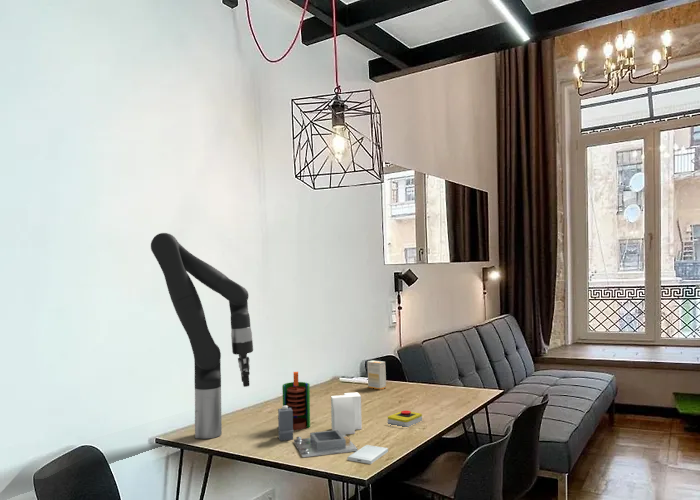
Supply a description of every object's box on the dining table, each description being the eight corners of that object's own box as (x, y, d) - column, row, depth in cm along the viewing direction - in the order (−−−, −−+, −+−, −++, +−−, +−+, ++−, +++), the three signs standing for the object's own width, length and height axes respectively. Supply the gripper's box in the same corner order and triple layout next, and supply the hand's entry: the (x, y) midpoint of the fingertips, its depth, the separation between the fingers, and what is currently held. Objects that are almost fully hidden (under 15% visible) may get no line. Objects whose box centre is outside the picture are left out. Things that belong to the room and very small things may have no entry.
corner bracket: (358, 424, 203) (357, 392, 204) (364, 433, 192) (363, 399, 193) (330, 426, 202) (329, 393, 202) (334, 435, 190) (334, 401, 191)
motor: (284, 431, 196) (283, 376, 197) (281, 424, 205) (280, 371, 206) (311, 428, 199) (310, 374, 200) (307, 422, 208) (306, 369, 208)
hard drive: (365, 444, 176) (347, 456, 165) (388, 448, 172) (370, 460, 161) (365, 449, 176) (347, 461, 165) (388, 453, 172) (371, 465, 161)
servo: (280, 441, 184) (280, 409, 185) (278, 436, 190) (277, 405, 191) (293, 440, 186) (293, 408, 186) (290, 435, 191) (290, 404, 192)
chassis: (302, 457, 168) (302, 446, 168) (293, 442, 184) (293, 432, 184) (357, 451, 173) (357, 440, 173) (344, 436, 188) (344, 427, 189)
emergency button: (425, 409, 207) (403, 418, 195) (425, 421, 207) (403, 430, 195) (405, 406, 213) (382, 414, 201) (405, 417, 213) (383, 426, 201)
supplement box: (386, 388, 263) (386, 361, 264) (380, 390, 260) (379, 362, 260) (373, 386, 269) (373, 359, 269) (367, 387, 265) (366, 361, 266)
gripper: (230, 338, 204) (234, 381, 204) (232, 343, 190) (236, 389, 190) (250, 336, 206) (254, 378, 206) (253, 341, 192) (257, 386, 192)
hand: (245, 383), depth 198 cm, fingers open, 8 cm apart
